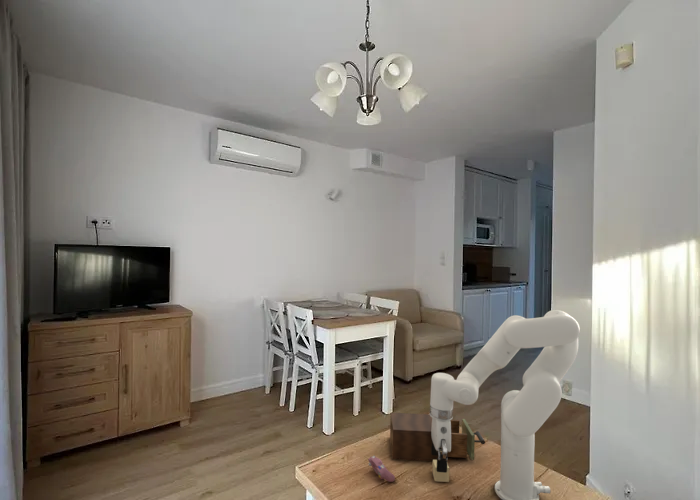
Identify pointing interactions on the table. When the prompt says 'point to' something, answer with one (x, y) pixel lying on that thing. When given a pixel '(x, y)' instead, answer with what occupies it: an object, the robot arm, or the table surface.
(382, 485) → the table surface
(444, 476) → the block
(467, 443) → the drawer
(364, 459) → the table surface
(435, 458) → the cabinet
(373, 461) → the pink rounded piece
